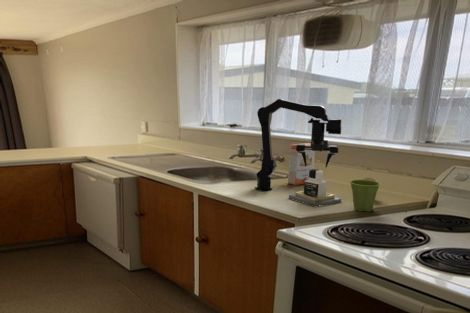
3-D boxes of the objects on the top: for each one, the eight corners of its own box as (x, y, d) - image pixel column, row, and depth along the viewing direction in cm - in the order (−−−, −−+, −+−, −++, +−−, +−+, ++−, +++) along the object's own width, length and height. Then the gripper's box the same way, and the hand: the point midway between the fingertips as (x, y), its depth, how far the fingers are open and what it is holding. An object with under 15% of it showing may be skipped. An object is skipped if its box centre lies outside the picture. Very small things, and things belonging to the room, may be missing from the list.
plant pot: (353, 203, 167) (355, 178, 165) (381, 209, 160) (384, 182, 159) (343, 209, 157) (345, 182, 156) (373, 215, 151) (375, 187, 149)
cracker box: (296, 185, 199) (298, 145, 196) (287, 183, 204) (289, 143, 201) (313, 182, 208) (316, 143, 205) (305, 180, 213) (307, 142, 210)
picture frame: (288, 198, 173) (289, 191, 173) (314, 194, 182) (314, 187, 182) (315, 207, 160) (315, 199, 160) (341, 202, 169) (341, 195, 169)
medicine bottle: (303, 196, 171) (304, 169, 169) (312, 194, 176) (313, 167, 174) (317, 199, 166) (319, 172, 164) (326, 197, 171) (327, 170, 169)
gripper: (296, 133, 172) (295, 168, 174) (340, 135, 168) (337, 171, 171) (297, 131, 182) (295, 164, 185) (338, 133, 179) (335, 167, 182)
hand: (315, 166), depth 180 cm, fingers open, 9 cm apart
